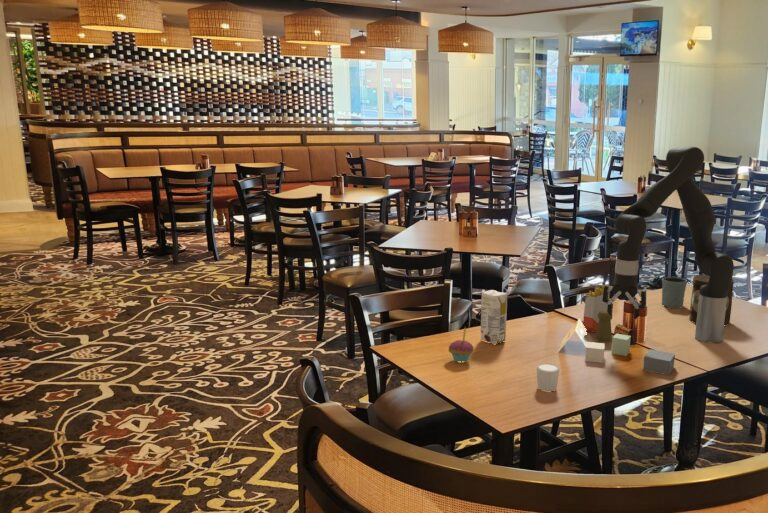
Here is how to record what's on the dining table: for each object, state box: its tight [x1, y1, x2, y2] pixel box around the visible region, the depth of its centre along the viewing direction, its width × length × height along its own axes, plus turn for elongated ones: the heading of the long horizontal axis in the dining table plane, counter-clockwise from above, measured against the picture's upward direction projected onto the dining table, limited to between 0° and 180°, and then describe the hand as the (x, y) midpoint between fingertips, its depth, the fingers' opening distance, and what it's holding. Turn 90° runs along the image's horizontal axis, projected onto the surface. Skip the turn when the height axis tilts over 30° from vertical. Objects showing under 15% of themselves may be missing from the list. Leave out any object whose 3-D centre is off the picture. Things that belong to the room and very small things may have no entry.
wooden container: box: [688, 273, 734, 326], centre depth 259 cm, size 15×15×22 cm
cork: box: [594, 310, 613, 343], centre depth 241 cm, size 6×6×11 cm
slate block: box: [642, 349, 676, 376], centre depth 213 cm, size 8×8×5 cm
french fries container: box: [582, 285, 610, 334], centre depth 251 cm, size 5×11×18 cm, turn 131°
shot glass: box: [536, 363, 560, 392], centre depth 198 cm, size 7×7×7 cm
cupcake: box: [448, 326, 474, 362], centre depth 220 cm, size 9×8×12 cm
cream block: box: [584, 341, 606, 364], centre depth 222 cm, size 6×6×5 cm
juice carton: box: [480, 289, 508, 345], centre depth 238 cm, size 8×9×19 cm
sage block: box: [611, 333, 632, 357], centre depth 227 cm, size 5×5×6 cm
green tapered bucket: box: [661, 276, 688, 309], centre depth 283 cm, size 10×10×12 cm
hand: (622, 316), depth 225 cm, fingers open, 8 cm apart
